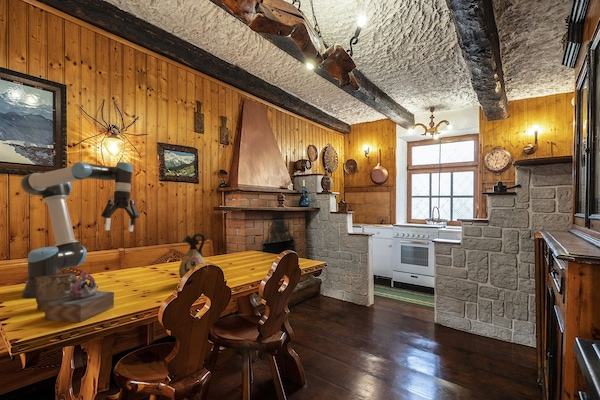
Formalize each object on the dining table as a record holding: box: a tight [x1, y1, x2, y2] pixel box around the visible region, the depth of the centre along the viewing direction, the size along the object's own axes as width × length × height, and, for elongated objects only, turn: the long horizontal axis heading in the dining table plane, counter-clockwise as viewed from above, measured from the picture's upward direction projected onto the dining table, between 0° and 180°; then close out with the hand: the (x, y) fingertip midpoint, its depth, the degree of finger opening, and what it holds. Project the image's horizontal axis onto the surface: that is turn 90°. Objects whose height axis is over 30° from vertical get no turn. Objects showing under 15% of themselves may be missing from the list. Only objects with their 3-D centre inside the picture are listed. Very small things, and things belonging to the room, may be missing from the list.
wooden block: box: [44, 290, 115, 323], centre depth 124 cm, size 16×17×7 cm
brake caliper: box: [64, 269, 99, 299], centre depth 125 cm, size 11×11×12 cm
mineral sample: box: [35, 271, 78, 311], centre depth 131 cm, size 17×4×15 cm, turn 112°
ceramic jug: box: [178, 232, 207, 279], centre depth 173 cm, size 17×15×30 cm
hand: (118, 230), depth 155 cm, fingers open, 13 cm apart
